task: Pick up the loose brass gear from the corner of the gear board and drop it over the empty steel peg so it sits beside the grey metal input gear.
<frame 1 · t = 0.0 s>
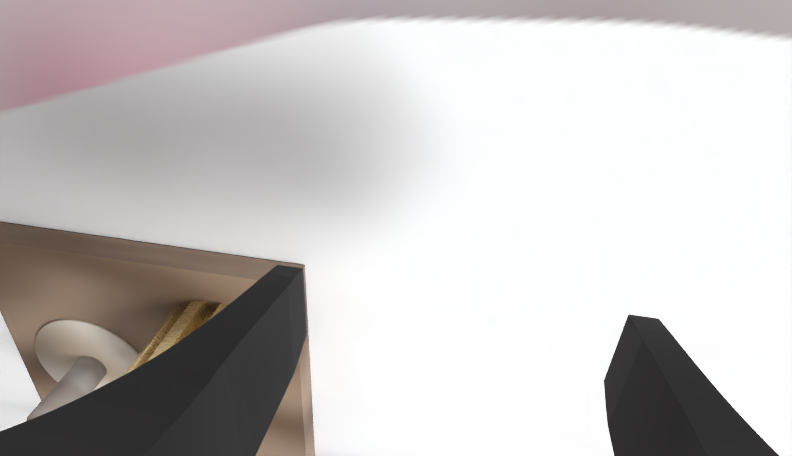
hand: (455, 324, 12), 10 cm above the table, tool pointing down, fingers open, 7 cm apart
gear board: (174, 372, 31), on the table
brass gear: (220, 345, 27), point 1 cm above the table, touching gear board
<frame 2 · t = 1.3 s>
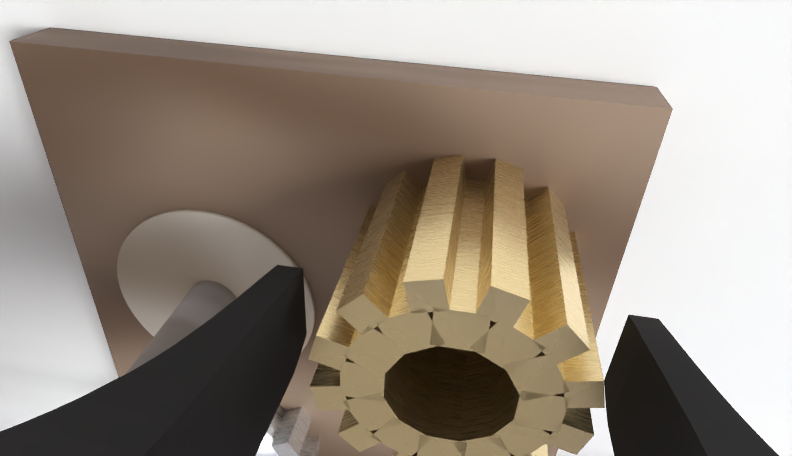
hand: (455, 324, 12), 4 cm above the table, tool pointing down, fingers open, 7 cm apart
input gear: (254, 397, 22), resting on gear board
gear board: (337, 317, 19), on the table
brass gear: (465, 251, 15), point 1 cm above the table, touching gear board
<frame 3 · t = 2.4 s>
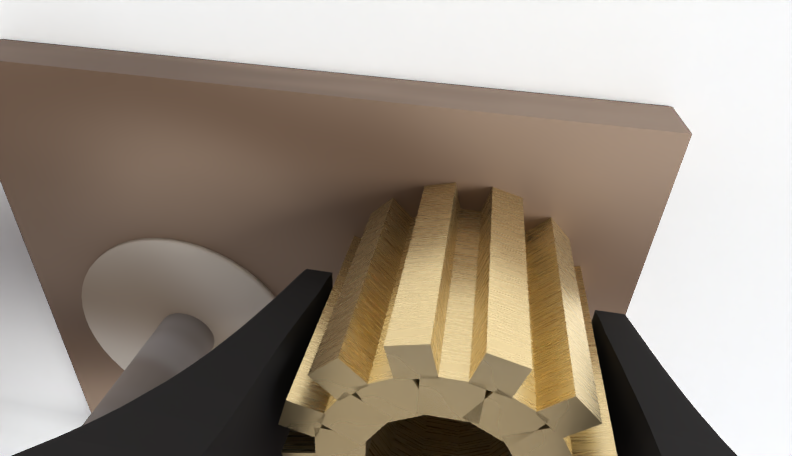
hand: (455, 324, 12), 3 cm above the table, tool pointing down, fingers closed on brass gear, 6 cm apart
gear board: (323, 348, 18), on the table
brass gear: (459, 285, 14), point 2 cm above the table, touching gear board, gripper
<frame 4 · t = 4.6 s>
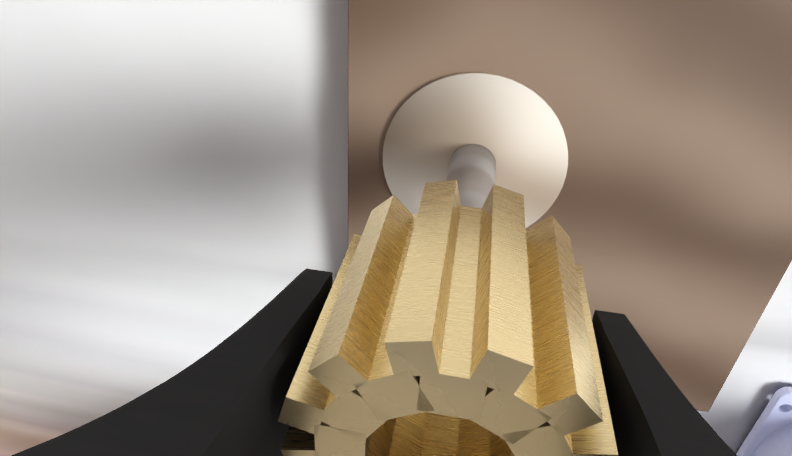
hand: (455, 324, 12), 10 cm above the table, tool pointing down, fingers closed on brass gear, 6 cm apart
gear board: (561, 191, 21), on the table
brass gear: (459, 283, 13), point 8 cm above the table, touching gripper
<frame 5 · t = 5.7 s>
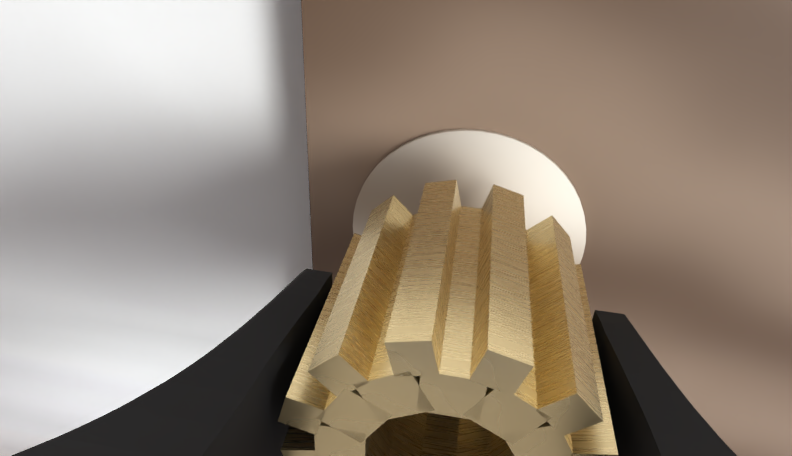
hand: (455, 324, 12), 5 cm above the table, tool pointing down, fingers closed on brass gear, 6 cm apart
gear board: (575, 264, 17), on the table
brass gear: (459, 283, 13), point 4 cm above the table, touching gripper
when the fingers open (5 cm above the table, at t = 6.8 s): brass gear drops 2 cm, resting on gear board.
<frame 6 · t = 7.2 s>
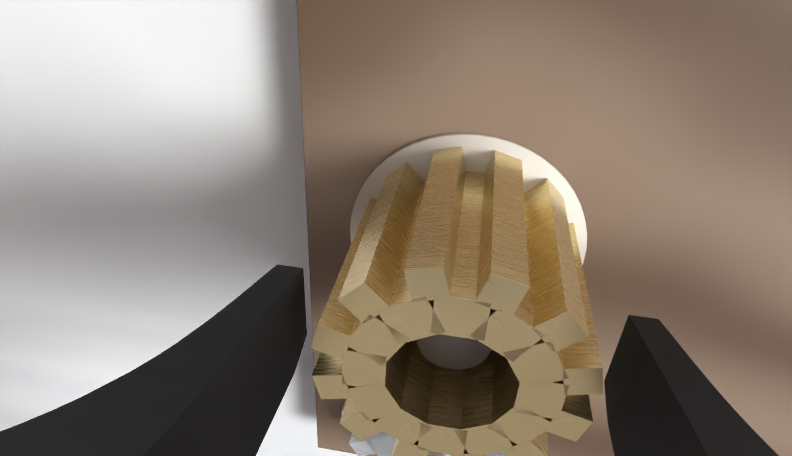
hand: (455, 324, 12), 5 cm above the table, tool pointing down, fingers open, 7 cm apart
input gear: (446, 365, 20), resting on gear board
gear board: (575, 269, 17), on the table
brass gear: (465, 243, 15), point 2 cm above the table, touching gear board
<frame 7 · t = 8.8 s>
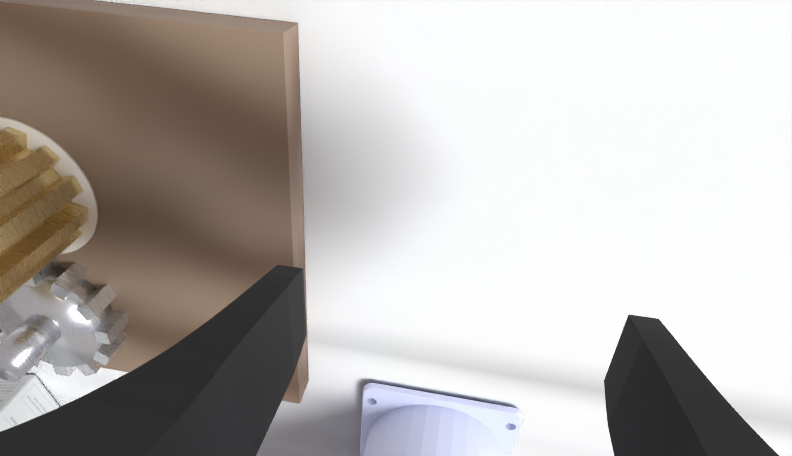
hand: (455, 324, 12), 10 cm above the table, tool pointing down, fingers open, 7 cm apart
input gear: (85, 287, 28), resting on gear board
supplement box: (25, 411, 35), on the table
gear board: (131, 212, 25), on the table
brass gear: (22, 189, 23), point 2 cm above the table, touching gear board
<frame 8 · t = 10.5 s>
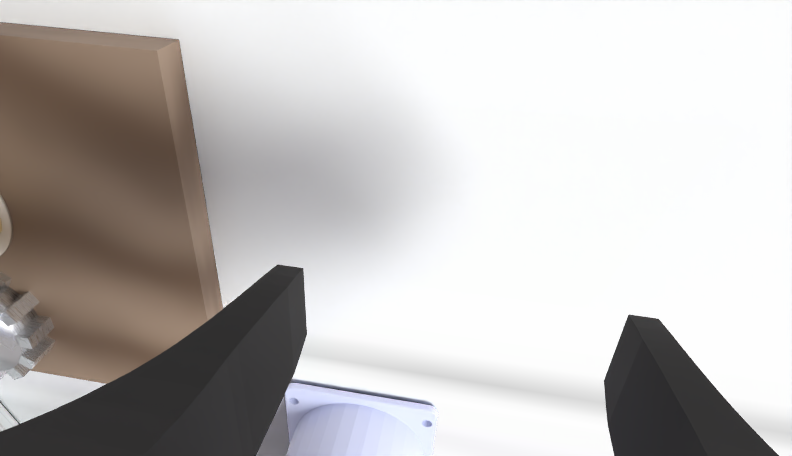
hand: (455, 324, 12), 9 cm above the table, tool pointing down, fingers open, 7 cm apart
input gear: (16, 293, 29), resting on gear board
gear board: (49, 221, 26), on the table
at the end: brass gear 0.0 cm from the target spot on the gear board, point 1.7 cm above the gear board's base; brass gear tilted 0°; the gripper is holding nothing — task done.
